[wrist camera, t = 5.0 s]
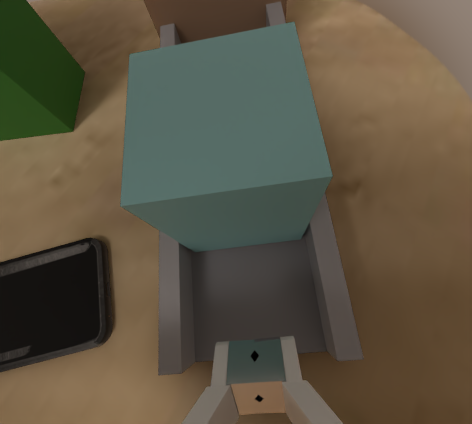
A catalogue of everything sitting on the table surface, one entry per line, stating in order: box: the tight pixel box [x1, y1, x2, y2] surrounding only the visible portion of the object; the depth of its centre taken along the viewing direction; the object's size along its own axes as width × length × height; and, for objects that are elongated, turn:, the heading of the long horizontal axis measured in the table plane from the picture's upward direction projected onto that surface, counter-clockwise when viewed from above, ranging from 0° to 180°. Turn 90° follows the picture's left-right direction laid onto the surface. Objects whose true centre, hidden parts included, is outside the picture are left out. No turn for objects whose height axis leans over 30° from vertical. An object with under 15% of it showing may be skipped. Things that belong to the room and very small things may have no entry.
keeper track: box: [144, 0, 364, 375], centre depth 16 cm, size 11×30×12 cm, turn 6°
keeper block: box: [120, 22, 333, 252], centre depth 14 cm, size 7×7×9 cm
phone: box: [0, 238, 112, 372], centre depth 19 cm, size 8×1×15 cm
